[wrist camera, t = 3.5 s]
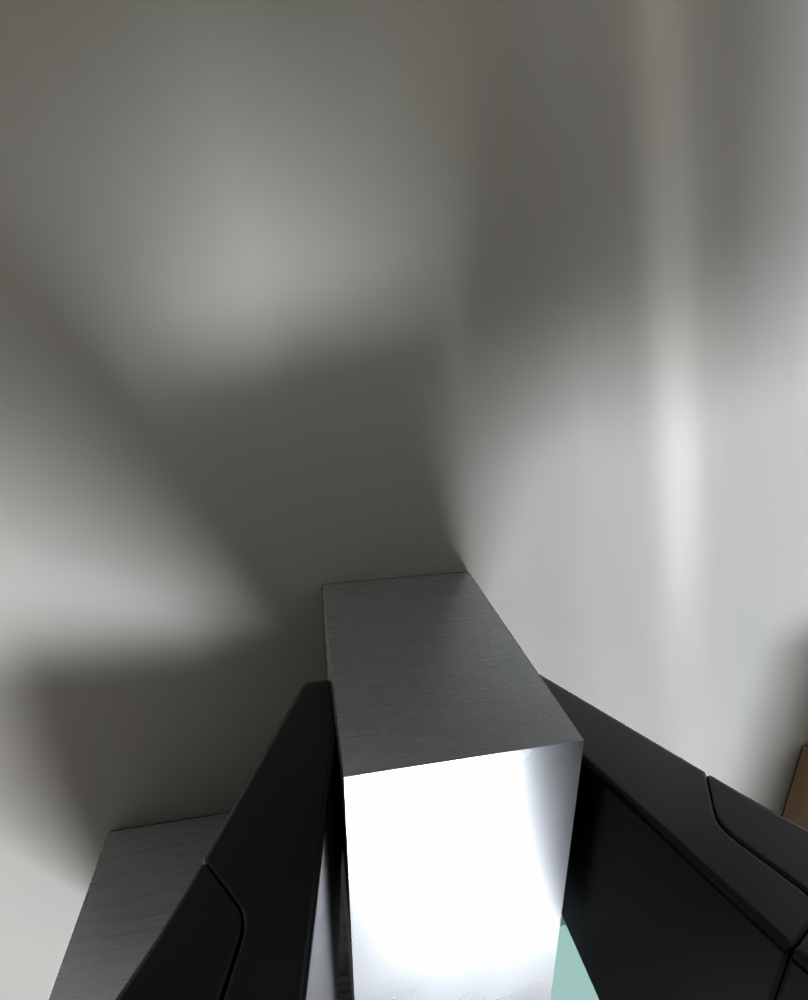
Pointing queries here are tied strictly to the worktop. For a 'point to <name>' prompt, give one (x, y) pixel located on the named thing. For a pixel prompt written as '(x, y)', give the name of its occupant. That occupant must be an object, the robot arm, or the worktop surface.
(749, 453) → the worktop surface
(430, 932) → the bracket
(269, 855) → the robot arm
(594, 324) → the worktop surface
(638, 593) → the worktop surface
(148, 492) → the worktop surface
